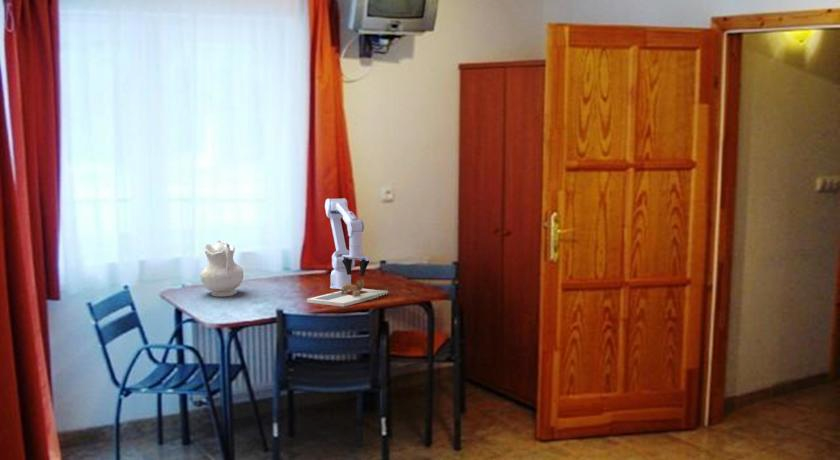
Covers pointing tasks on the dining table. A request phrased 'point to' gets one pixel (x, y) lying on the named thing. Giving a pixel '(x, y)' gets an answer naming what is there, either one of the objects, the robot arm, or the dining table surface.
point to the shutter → (368, 294)
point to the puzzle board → (340, 298)
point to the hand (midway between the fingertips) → (355, 275)
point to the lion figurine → (353, 287)
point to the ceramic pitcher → (221, 270)
